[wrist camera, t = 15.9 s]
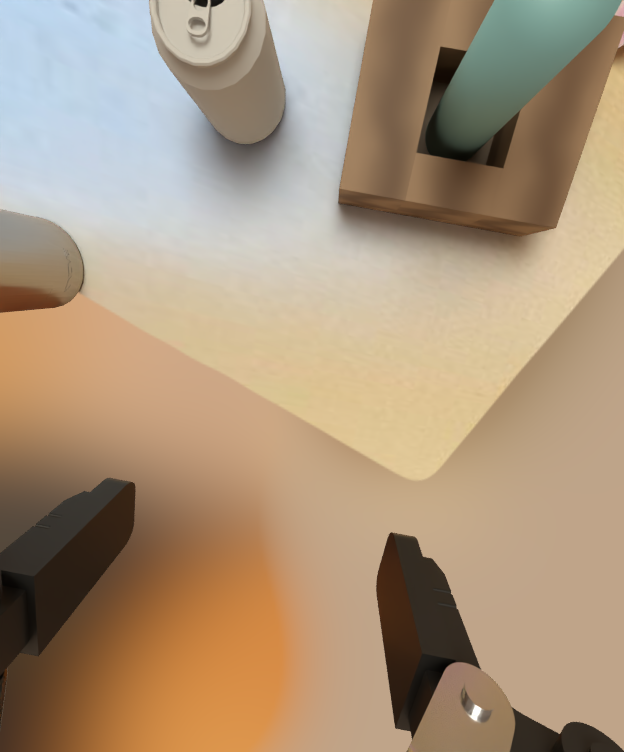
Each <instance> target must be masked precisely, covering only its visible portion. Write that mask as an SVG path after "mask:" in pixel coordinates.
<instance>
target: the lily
mask: <svg viewBox="0 0 624 752" xmlns="http://www.w3.org/2000/svg"><path fill="white" fill-rule="evenodd" d="M615 15H617V16H622V17H624V0H622V2H621V4H620V6H619V8H618V9H617V11H616V13H615ZM622 45H624V32H623V35H622V38H621V41H620V44H619V46H618V48H619V47H621V46H622Z"/></svg>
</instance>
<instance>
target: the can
mask: <svg viewBox="0 0 624 752" xmlns="http://www.w3.org/2000/svg"><path fill="white" fill-rule="evenodd" d="M149 7H150V15H151V23H152V33H153V36H154V39H155V42H156V45H157V48H158V51H159V54H160V55H161V57H162V58H163V60H164V61H165V63H166V65H167V66H168V68H169V69H170V71H171V72H172V73H173V75H174V76H175V77H176V78H177V80H178V81H179V82H180V84H181V85H182V86H183V87H184V89H185V90H186V91H187V93H188V94H189V95H190V97H191V98H192V99H193V100H194V102H195V103H196V104H197V106H198V107H199V108H200V110H201V111H202V112H203V113H204V115H205V116H206V117H207V119H208V120H209V121H210V123H211V124H212V125H213V126H214V128H215V129H216V130H217V131H218V132H219V133H220V134H222V135H223V136H224V137H225V138H226V139H228V140H231V141H233V142H236V143H238V144H253V143H255V142H258V141H261V140H263V139H265V138H266V137H267V136H268V135H270V134H271V133H272V132H273V131H274V130H275V128H276V126H277V125H278V123H279V122H280V120H281V118H282V114H283V111H284V107H285V86H284V82H283V78H282V74H281V70H280V66H279V62H278V58H277V54H276V50H275V46H274V42H273V38H272V34H271V30H270V25H269V21H268V17H267V13H266V9H265V5H264V2H263V0H149Z"/></svg>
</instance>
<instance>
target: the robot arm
mask: <svg viewBox="0 0 624 752" xmlns="http://www.w3.org/2000/svg"><path fill="white" fill-rule="evenodd" d="M82 281H83V264H82V259H81V256H80V253H79V251H78V249H77V247H76V245H75V243H74V242H73V240H72V239H71V237H70V236H69V235H68V234H67V233H66V232H65V231H64V230H63V229H62V228H61V227H59V226H57V225H56V224H54V223H53V222H51V221H48V220H46V219H43V218H38V217H34V216H29V215H24V214H20V213H15V212H11V211H7V210H2V209H0V312H12V311H24V310H34V309H45V308H55V307H59V306H62V305H64V304H66V303H68V302H70V301H71V300H72V299H73V298H74V297H75V296H76V294H77V293H78V291H79V290H80V287H81V284H82ZM134 510H135V484H134V483H133V482H128V481H123V480H118V479H113V478H107V479H105V480H104V481H102V482H101V483H100V484H99V485H98V486H97V487H96V488H94V489H93V490H92V491H91V492H85V491H84V492H82V493H80V494H78V495H75V496H73V497H71V498H69V499H67V500H65V501H63V502H62V503H61V504H60V505H59V506H57V507H56V508H55V509H54V510H53V511H51V512H50V513H49V515H48V516H45V517H44V518H43V519H41V520H40V521H39V522H38V523H37V524H36V526H35V527H34V526H33V527H32V528H30V529H29V530H28V531H27V532H25V533H24V534H23V535H22V536H21V537H19V538H18V539H17V540H16V541H14V542H13V543H12V544H11V545H10V546H8V547H7V548H6V549H5V550H4V551H2V552H1V553H0V727H1V719H2V712H3V704H4V697H5V690H6V682H7V672H8V671H7V667H8V666H9V665H10V664H11V662H12V661H13V660H14V659H15V658H16V657H17V655H18V654H19V653H24V654H29V655H35V656H39V655H40V654H41V652H42V651H43V650H44V649H45V647H46V646H47V645H48V644H49V642H50V641H51V640H52V638H53V637H54V636H55V634H56V633H57V632H58V631H59V630H60V628H61V627H62V625H63V624H64V623H65V622H66V621H67V619H68V618H69V617H70V615H71V614H72V613H73V612H74V610H75V609H76V608H77V606H78V605H79V604H80V603H81V601H82V600H83V599H84V598H85V596H86V595H87V594H88V592H89V591H90V590H91V589H92V587H93V586H94V585H95V584H96V582H97V581H98V580H99V578H100V577H101V576H102V575H103V573H104V572H105V571H106V570H107V568H108V567H109V566H110V564H111V563H112V562H113V561H114V559H115V558H116V557H117V556H118V554H119V553H120V551H121V550H122V549H123V548H124V547H125V545H126V544H127V542H128V540H129V538H130V536H131V533H132V531H133V526H134ZM376 587H377V588H376V591H377V600H378V608H379V615H380V622H381V629H382V635H383V643H384V650H385V658H386V665H387V672H388V679H389V687H390V693H391V701H392V708H393V715H394V723H395V728H396V729H401V730H407V731H411V736H412V742H411V744H410V746H409V748H408V750H407V752H624V751H623V750H622V749H621V748H620V747H619V746H618V745H617V744H616V743H615V742H614V741H613V740H611V739H610V738H609V737H607V736H606V735H605V734H604V733H602V732H600V731H599V730H597V729H596V728H594V727H592V726H589V725H587V724H584V723H580V722H571V723H568V724H567V725H566V726H564V728H563V730H562V732H561V733H560V734H558V733H557V732H554V731H553V730H551V729H549V728H547V727H545V726H543V725H542V724H540V723H538V722H536V721H534V720H532V719H530V718H529V717H527V716H525V715H523V714H521V713H520V712H518V711H516V710H515V709H514V708H512V707H511V705H510V702H509V701H508V699H507V697H506V695H505V694H504V692H503V691H502V689H501V688H500V687H499V686H498V684H497V683H496V682H495V681H494V680H493V679H492V678H491V677H490V676H488V675H487V674H486V673H485V672H483V671H482V670H481V668H480V667H479V664H478V661H477V658H476V656H475V653H474V651H473V648H472V645H471V643H470V640H469V637H468V635H467V632H466V630H465V627H464V624H463V622H462V619H461V617H460V614H459V611H458V609H456V603H455V601H454V598H453V595H451V590H450V588H449V585H448V582H447V579H446V577H445V574H444V573H443V572H442V570H441V569H440V568H439V567H438V566H437V564H436V563H435V562H434V560H433V559H431V558H426V557H423V556H422V553H421V550H420V547H419V544H418V541H417V539H416V538H415V537H413V536H407V535H402V534H397V533H390V534H389V537H388V539H387V543H386V546H385V549H384V553H383V556H382V560H381V563H380V567H379V571H378V575H377V585H376Z"/></svg>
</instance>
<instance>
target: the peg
mask: <svg viewBox="0 0 624 752" xmlns="http://www.w3.org/2000/svg"><path fill="white" fill-rule="evenodd" d="M621 1H622V0H494V2H493V4H492V6H491V8H490V9H489V11H488V13H487V15H486V17H485V19H484V21H483V22H482V24H481V26H480V28H479V30H478V32H477V33H476V35H475V37H474V39H473V41H472V43H471V45H470V46H469V48H468V50H467V52H466V54H465V56H464V58H463V59H462V61H461V63H460V65H459V67H458V69H457V71H456V72H455V74H454V76H453V78H452V80H451V82H450V84H449V85H448V87H447V89H446V91H445V93H444V95H443V97H442V98H441V100H440V102H439V104H438V106H437V108H436V109H435V111H434V113H433V115H432V117H431V119H430V121H429V123H428V125H427V129H426V135H425V141H426V146H427V150H428V152H429V154H430V155H432V156H437V157H443V158H448V159H454V160H459V161H467V160H468V159H470V158H471V157H472V156H473V155H474V154H475V153H476V152H477V151H478V150H479V149H480V148H481V147H482V146H483V145H484V144H485V143H487V142H488V141H489V140H490V139H491V138H492V137H493V136H494V135H495V134H496V133H497V132H498V131H499V130H500V129H501V128H502V127H503V126H504V125H505V124H506V123H507V122H508V121H509V120H510V119H511V118H512V117H513V116H514V115H516V114H517V113H518V112H519V111H520V110H521V109H522V108H523V107H524V106H525V105H526V104H527V103H528V102H529V101H530V100H531V99H532V98H533V97H534V96H535V95H536V94H537V93H538V92H539V91H540V90H541V89H542V88H543V87H545V86H546V85H547V84H548V83H549V82H550V81H551V80H552V79H553V78H554V77H555V76H556V75H557V74H558V73H559V72H560V71H561V70H562V69H563V68H564V67H565V66H566V65H567V64H568V63H569V62H570V61H571V60H572V59H574V58H575V57H576V56H577V55H578V54H579V53H580V52H581V51H582V50H583V49H584V48H585V47H586V46H587V45H588V44H589V43H590V42H591V41H592V40H593V39H594V38H595V37H596V36H597V35H598V34H599V33H600V32H601V31H602V30H603V29H604V28H605V27H606V26H607V25H608V23H609V22H610V21H611V19H612V18H613V16H614V15H615V13H616V11H617V9H618V8H619V6H620V4H621Z"/></svg>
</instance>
